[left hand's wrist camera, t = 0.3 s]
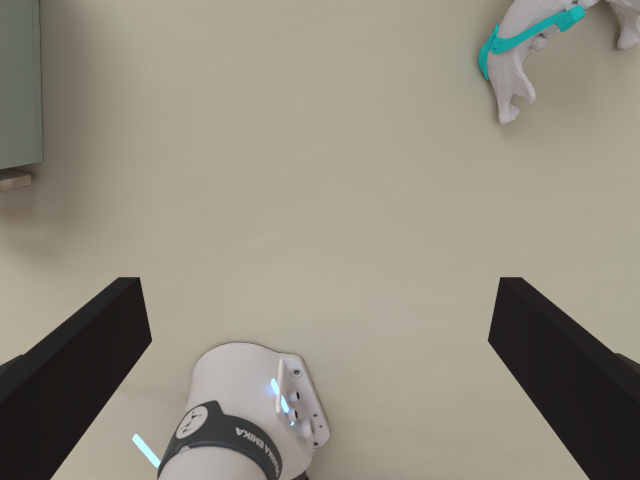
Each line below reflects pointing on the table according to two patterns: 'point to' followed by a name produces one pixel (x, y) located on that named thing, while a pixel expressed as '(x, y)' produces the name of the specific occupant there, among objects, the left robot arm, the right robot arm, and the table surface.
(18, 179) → the drawer
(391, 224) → the table surface
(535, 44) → the anatomical model
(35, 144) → the cabinet
